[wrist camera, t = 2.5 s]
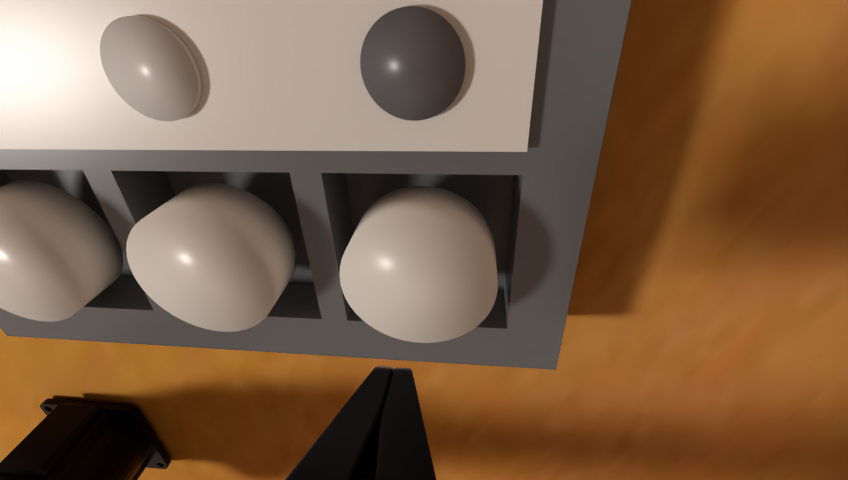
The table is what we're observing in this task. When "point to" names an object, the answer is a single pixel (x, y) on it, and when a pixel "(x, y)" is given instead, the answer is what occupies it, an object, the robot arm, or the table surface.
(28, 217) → the button
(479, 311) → the button
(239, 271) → the button
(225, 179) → the board
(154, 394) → the table surface
